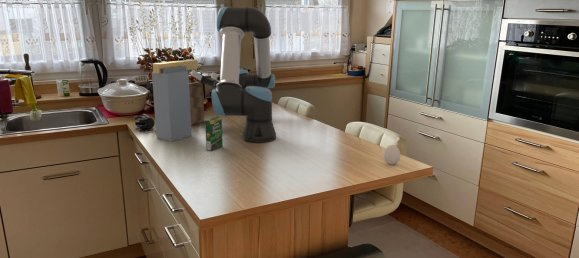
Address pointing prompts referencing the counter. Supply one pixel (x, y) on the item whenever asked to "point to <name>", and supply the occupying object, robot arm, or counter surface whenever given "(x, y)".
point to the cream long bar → (174, 65)
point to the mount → (172, 103)
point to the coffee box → (213, 133)
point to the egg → (392, 154)
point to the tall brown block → (196, 102)
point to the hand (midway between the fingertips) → (201, 73)
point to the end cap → (144, 123)
